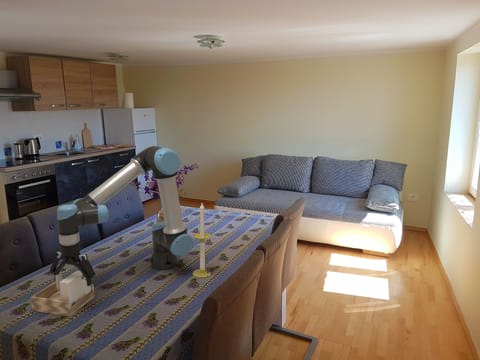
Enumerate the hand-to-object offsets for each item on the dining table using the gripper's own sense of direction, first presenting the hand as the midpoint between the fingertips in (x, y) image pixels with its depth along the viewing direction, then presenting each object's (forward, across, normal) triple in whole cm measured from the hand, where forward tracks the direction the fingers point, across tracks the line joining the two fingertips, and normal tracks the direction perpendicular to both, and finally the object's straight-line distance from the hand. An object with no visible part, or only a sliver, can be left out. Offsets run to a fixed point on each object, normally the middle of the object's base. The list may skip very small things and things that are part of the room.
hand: (73, 290), depth 153 cm
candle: (+7, -42, -42) cm, 60 cm away
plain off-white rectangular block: (+6, 0, 0) cm, 6 cm away
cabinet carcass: (+7, +5, 0) cm, 8 cm away
